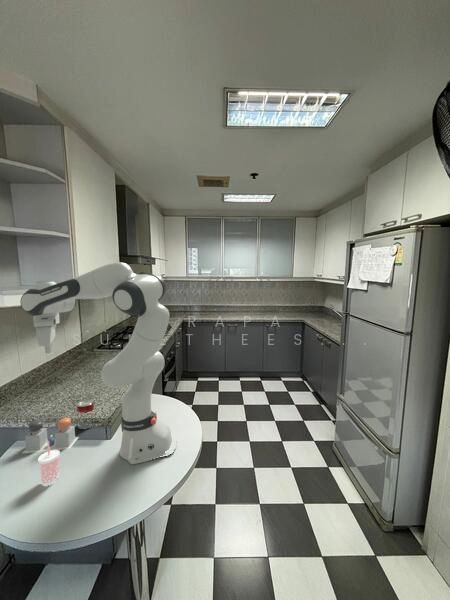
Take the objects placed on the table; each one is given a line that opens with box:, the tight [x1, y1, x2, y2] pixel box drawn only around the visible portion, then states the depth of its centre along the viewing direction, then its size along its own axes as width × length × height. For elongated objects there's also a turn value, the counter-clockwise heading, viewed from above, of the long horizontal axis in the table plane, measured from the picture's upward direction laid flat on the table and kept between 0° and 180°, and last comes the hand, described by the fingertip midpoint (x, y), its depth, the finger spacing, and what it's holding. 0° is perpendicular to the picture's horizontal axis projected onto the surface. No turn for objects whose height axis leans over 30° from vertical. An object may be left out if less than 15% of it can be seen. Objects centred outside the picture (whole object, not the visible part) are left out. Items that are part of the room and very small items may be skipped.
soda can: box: [76, 399, 95, 414], centre depth 116 cm, size 7×7×12 cm
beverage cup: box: [37, 441, 61, 487], centre depth 84 cm, size 6×6×14 cm
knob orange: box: [57, 417, 72, 432], centre depth 103 cm, size 5×5×9 cm
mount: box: [20, 425, 80, 455], centre depth 102 cm, size 18×8×7 cm, turn 98°
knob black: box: [28, 419, 44, 435], centre depth 101 cm, size 5×5×9 cm
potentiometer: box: [47, 434, 55, 447], centre depth 102 cm, size 2×2×4 cm
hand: (48, 352), depth 104 cm, fingers closed
